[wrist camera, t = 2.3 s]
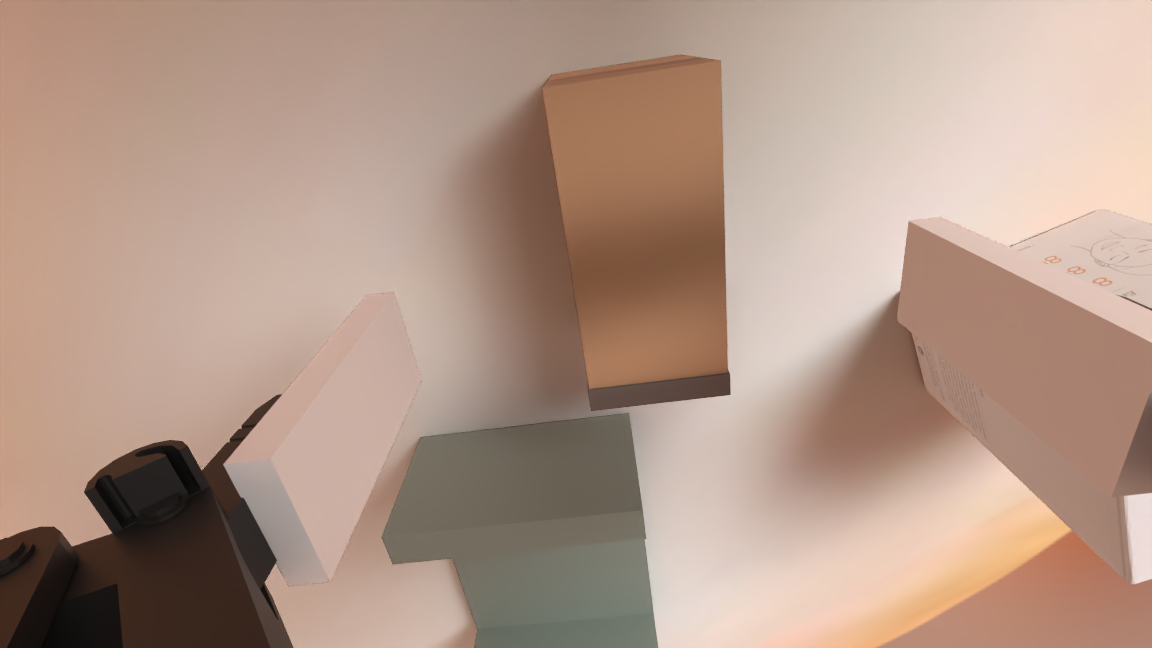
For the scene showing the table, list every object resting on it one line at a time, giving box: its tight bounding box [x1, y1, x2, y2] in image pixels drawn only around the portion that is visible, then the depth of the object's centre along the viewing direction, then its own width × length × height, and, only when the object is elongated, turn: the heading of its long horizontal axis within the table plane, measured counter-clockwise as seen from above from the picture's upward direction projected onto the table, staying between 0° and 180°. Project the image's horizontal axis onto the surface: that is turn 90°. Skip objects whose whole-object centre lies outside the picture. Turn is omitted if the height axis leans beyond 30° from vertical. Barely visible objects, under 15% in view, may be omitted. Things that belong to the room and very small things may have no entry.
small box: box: [912, 209, 1152, 585], centre depth 19 cm, size 8×6×10 cm
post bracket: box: [382, 413, 658, 648], centre depth 27 cm, size 14×10×6 cm
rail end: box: [542, 55, 730, 411], centre depth 19 cm, size 10×5×6 cm, turn 8°
